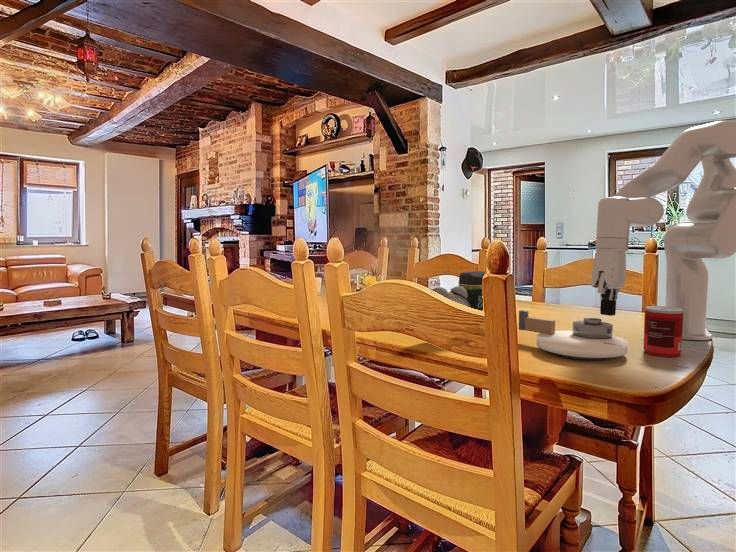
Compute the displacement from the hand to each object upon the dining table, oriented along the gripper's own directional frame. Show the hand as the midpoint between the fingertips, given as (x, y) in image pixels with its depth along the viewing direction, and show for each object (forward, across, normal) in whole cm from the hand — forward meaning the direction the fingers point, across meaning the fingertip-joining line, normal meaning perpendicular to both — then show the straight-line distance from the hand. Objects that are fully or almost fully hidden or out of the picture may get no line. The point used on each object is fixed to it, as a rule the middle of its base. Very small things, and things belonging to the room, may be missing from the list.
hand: (607, 314), depth 119 cm
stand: (+8, +15, 0) cm, 17 cm away
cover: (+4, +9, 0) cm, 10 cm away
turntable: (+7, +15, -3) cm, 17 cm away
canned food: (+8, +1, +13) cm, 15 cm away
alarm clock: (+9, +29, -30) cm, 42 cm away
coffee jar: (+9, +17, -30) cm, 35 cm away
